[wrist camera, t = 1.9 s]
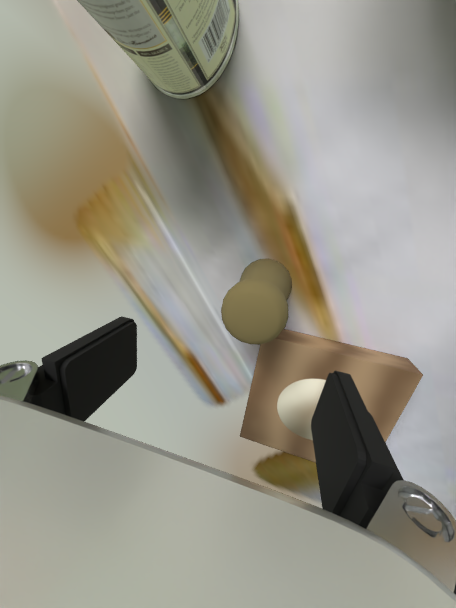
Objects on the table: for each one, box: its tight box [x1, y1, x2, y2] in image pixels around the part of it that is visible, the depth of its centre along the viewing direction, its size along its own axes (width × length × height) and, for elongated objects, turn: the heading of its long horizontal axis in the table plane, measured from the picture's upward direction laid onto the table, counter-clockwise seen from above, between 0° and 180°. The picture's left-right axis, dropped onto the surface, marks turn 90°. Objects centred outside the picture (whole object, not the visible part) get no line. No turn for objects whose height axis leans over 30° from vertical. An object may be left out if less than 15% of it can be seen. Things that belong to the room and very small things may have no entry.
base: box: [240, 329, 423, 462], centre depth 27 cm, size 16×16×3 cm
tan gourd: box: [221, 259, 292, 344], centre depth 21 cm, size 6×6×11 cm
